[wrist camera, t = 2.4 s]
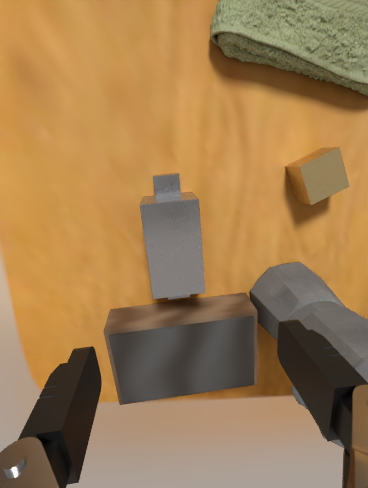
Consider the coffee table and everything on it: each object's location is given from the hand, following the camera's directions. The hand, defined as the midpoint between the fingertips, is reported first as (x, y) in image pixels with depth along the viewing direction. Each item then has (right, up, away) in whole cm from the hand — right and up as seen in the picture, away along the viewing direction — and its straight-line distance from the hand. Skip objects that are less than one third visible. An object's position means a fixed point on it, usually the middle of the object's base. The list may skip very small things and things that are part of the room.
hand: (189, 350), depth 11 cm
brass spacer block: (+13, +12, +16) cm, 24 cm away
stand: (0, -7, +21) cm, 22 cm away
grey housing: (-2, +5, +17) cm, 18 cm away
